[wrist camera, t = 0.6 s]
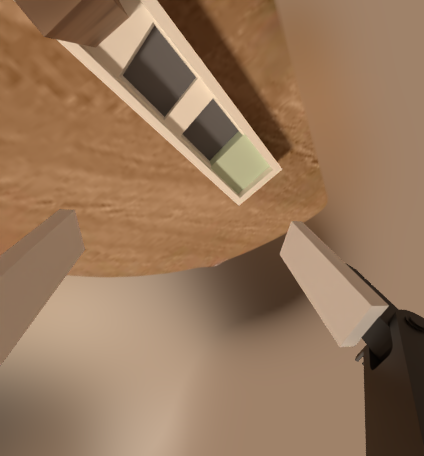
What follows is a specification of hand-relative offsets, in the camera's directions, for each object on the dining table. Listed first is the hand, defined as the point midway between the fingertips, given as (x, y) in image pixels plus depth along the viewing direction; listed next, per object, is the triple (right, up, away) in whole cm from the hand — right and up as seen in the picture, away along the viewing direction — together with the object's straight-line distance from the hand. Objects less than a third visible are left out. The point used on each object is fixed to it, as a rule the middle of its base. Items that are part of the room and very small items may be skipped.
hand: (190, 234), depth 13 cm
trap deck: (-3, +19, +17) cm, 26 cm away
